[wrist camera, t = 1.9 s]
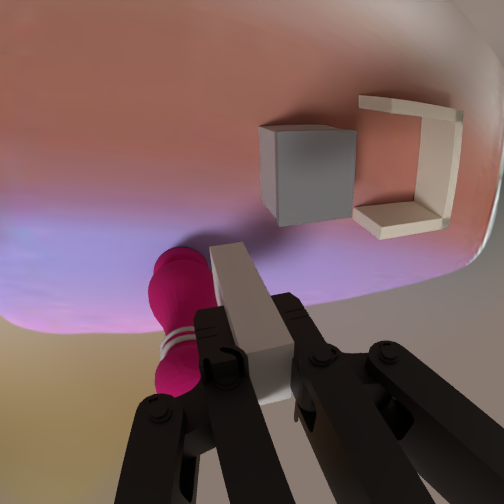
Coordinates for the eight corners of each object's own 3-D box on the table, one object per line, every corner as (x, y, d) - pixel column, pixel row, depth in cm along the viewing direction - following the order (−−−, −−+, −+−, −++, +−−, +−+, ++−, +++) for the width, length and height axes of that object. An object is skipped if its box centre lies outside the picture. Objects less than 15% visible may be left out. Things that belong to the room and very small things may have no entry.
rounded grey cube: (256, 124, 29) (277, 131, 24) (323, 122, 31) (356, 130, 25) (259, 202, 33) (279, 227, 28) (322, 195, 35) (351, 217, 29)
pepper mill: (218, 246, 34) (270, 395, 17) (207, 299, 37) (245, 449, 20) (152, 239, 32) (147, 397, 15) (147, 295, 35) (149, 452, 18)
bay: (358, 94, 30) (391, 98, 25) (429, 104, 32) (463, 110, 27) (352, 218, 37) (379, 239, 32) (419, 210, 39) (448, 227, 34)
